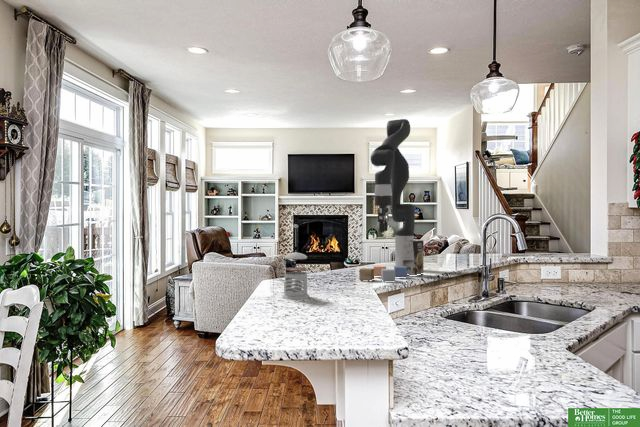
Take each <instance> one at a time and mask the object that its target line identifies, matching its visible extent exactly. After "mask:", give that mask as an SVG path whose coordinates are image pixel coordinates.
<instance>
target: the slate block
mask: <svg viewBox="0 0 640 427" xmlns="http://www.w3.org/2000/svg"><path fill="white" fill-rule="evenodd" d="M381 279H382V280H383V281H395V282H396V279H395V270H394V268H386V269H381V278H380V280H381Z"/></svg>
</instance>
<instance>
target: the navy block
mask: <svg viewBox="0 0 640 427" xmlns="http://www.w3.org/2000/svg"><path fill="white" fill-rule="evenodd" d="M393 269H394V270H395V277H407V278H408V276H407V267H406V266H395V265H394V266H393Z"/></svg>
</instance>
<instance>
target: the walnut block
mask: <svg viewBox="0 0 640 427" xmlns="http://www.w3.org/2000/svg"><path fill="white" fill-rule="evenodd" d="M358 272H359V274H358V276H359V280H372V279H374V280H375V278H374V268H372V267H371V268H368V267H367V268H365V267H362V268H359V271H358ZM359 280H358V281H359Z"/></svg>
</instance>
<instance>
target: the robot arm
mask: <svg viewBox="0 0 640 427" xmlns="http://www.w3.org/2000/svg"><path fill="white" fill-rule="evenodd" d="M410 135H411V124H410V121H409V120H408V119H406V118H400V119H393V120H388V121H387V124H386V136H387V137H386V138H385V139H384V140H383V142H382V143H381V145H380V146H379V145H378V147H377V148H375V149H374V150H373V151H372V152H371V154H370V163H371V164H372V165H373V166H375V167H384V169H383V170H379V171H376V172H375V174H374V206H376V207H377V206H378V207H379V208H377V223H378V227H379V228H378V232H379V233H384V232H387V231H389V230H388V229H389V228H388V223H389V221H390V220H389V219H390V218H389V210H390V209H389V207H391V217H392V220H393V222H395V223H404V225H403V226H402V227H400V228H397V229H396V230H395V232H394V239H395V240H394V246H395V247H394V248H395V250H394V252H395V253H394V254H395V255H394V258H395V260H394V264H395V265H394V266H403V241H409V240H415V239H414V237H415V236H414V234H415V233H414V232H415V220H416V219H415V217H416V210H415V206H414V204H411V203H401V200H402V199H401V198H402V193H403V192H404V189H405V187H406V186H407V184H408V182H409V180H410V169H409V168H410V167H409V163H408V161H407V159H406V158H405V157H404V155H403V154H402V152H401V151H400V149H399V146H400V145H401V144H402V143H403V142H404V141H405V140H407V138H408V137H410ZM387 206H388V207H387Z"/></svg>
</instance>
